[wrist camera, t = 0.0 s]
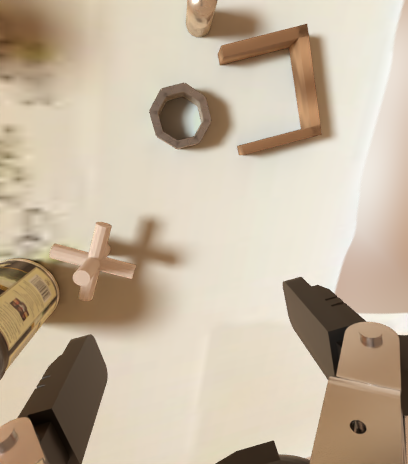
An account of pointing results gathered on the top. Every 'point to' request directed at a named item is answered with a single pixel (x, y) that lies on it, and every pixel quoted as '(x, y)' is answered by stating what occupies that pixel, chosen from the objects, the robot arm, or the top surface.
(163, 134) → the metal ring
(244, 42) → the groove block
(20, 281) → the coffee can
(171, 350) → the top surface
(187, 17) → the beige rounded cylinder
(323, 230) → the top surface
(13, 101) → the top surface
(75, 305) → the top surface
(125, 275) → the pipe connector
